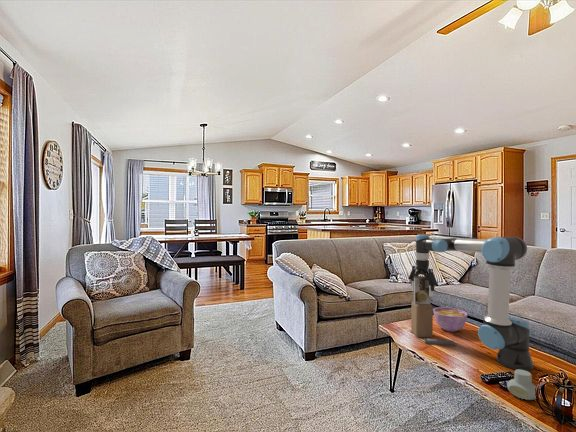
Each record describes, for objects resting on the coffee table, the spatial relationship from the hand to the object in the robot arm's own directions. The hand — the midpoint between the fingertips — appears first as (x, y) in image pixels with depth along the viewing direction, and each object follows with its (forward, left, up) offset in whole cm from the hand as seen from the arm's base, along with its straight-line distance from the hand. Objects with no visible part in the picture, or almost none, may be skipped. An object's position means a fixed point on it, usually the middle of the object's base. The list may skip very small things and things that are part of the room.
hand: (422, 293), depth 203 cm
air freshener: (-67, +15, -26) cm, 73 cm away
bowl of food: (-1, -24, -26) cm, 35 cm away
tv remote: (-14, +1, -26) cm, 30 cm away
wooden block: (0, 0, -26) cm, 26 cm away
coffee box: (0, 0, -6) cm, 6 cm away
